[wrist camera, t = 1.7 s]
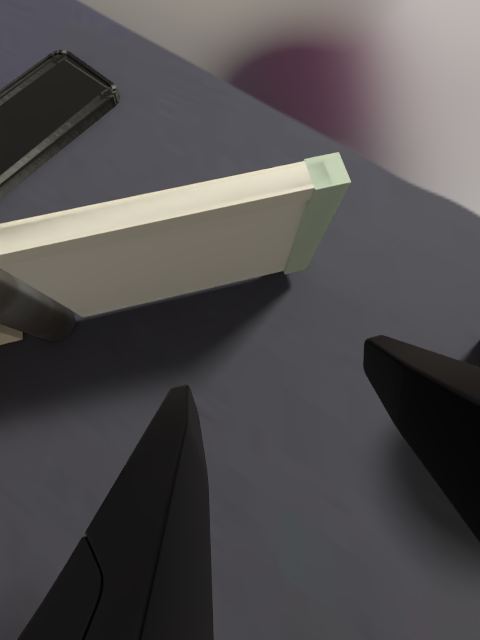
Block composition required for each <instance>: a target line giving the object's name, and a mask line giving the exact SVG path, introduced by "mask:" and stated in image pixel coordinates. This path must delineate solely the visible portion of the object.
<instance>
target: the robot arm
mask: <svg viewBox="0 0 480 640" xmlns="http://www.w3.org/2000/svg"><path fill="white" fill-rule="evenodd" d="M363 367H364V371H365V374H366V376H367V377H368V379H369V381H370V383H371V384H372V386H373V388H374V390H375V391H376V393H377V395H378V397H379V398H380V400H381V402H382V404H383V405H384V407H385V409H386V411H387V412H388V414H389V416H390V417H391V419H392V421H393V422H394V424H395V426H396V427H397V429H398V430H399V432H400V433H401V435H402V436H403V437H404V439H405V440H406V442H407V443H408V444H409V446H410V447H411V448H412V450H413V451H414V453H415V454H416V455H417V457H418V458H419V459H420V461H421V462H422V464H423V465H424V466H425V468H426V469H427V470H428V472H429V473H430V475H431V476H432V477H433V479H434V480H435V482H436V483H437V484H438V486H439V487H440V488H441V490H442V491H443V493H444V494H445V495H446V497H447V498H448V499H449V501H450V502H451V504H452V505H453V506H454V508H455V509H456V510H457V512H458V513H459V515H460V516H461V517H462V519H463V520H464V521H465V523H466V524H467V526H468V527H469V528H470V530H471V531H472V533H473V534H474V535H475V537H476V538H477V539H478V541H479V542H480V367H477V366H474V365H471V364H468V363H465V362H462V361H459V360H456V359H453V358H450V357H447V356H444V355H441V354H438V353H435V352H432V351H429V350H426V349H423V348H420V347H417V346H414V345H411V344H408V343H405V342H402V341H399V340H396V339H393V338H390V337H387V336H383V335H379V336H375V337H371V338H368V339H366V340H365V343H364V360H363ZM85 535H86V537H82V538H81V540H80V542H79V543H78V545H77V547H76V548H75V550H74V552H73V553H72V555H71V557H70V558H69V560H68V562H67V563H66V565H65V566H64V568H63V570H62V571H61V573H60V574H59V576H58V578H57V579H56V581H55V583H54V584H53V586H52V587H51V589H50V591H49V592H48V594H47V595H46V597H45V599H44V600H43V602H42V603H41V605H40V606H39V608H38V609H37V611H36V612H35V614H34V615H33V617H32V618H31V620H30V621H29V623H28V624H27V626H26V627H25V629H24V630H23V632H22V633H21V635H20V636H19V638H18V639H17V640H214V636H213V606H212V575H211V544H210V514H209V487H208V475H207V467H206V460H205V454H204V447H203V441H202V434H201V427H200V421H199V415H198V411H197V408H196V405H195V402H194V399H193V396H192V393H191V390H190V387H189V386H188V385H182V386H178V387H174V388H172V389H171V390H170V391H169V392H168V394H167V396H166V397H165V399H164V401H163V402H162V404H161V406H160V408H159V409H158V411H157V413H156V414H155V416H154V418H153V419H152V421H151V423H150V424H149V426H148V428H147V429H146V431H145V433H144V434H143V436H142V438H141V439H140V441H139V443H138V444H137V446H136V448H135V449H134V451H133V453H132V455H131V456H130V458H129V460H128V461H127V463H126V465H125V466H124V468H123V470H122V471H121V473H120V475H119V476H118V478H117V480H116V481H115V483H114V485H113V486H112V488H111V490H110V491H109V493H108V495H107V497H106V498H105V500H104V502H103V503H102V505H101V507H100V508H99V510H98V512H97V513H96V515H95V517H94V518H93V520H92V522H91V523H90V525H89V527H88V528H87V530H86V532H85Z"/></svg>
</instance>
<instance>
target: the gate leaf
mask: <svg viewBox="0 0 480 640" xmlns="http://www.w3.org/2000/svg"><path fill="white" fill-rule="evenodd" d="M350 183H351V181H350V178H349V176H348V174H347V171H346V169H345V166H344V164H343V161H342V159H341V157H340V154H339V152H337V153H332V154H328V155H323V156H318V157H313V158H308V159H304V161H303V162H298V163H294V164H289V165H284V166H279V167H274V168H269V169H264V170H260V171H255V172H250V173H245V174H240V175H235V176H230V177H226V178H221V179H216V180H211V181H206V182H201V183H196V184H192V185H187V186H182V187H177V188H172V189H167V190H162V191H158V192H153V193H148V194H143V195H138V196H133V197H128V198H124V199H119V200H114V201H109V202H104V203H99V204H94V205H90V206H85V207H80V208H75V209H70V210H65V211H60V212H56V213H51V214H46V215H41V216H36V217H31V218H26V219H22V220H17V221H12V222H7V223H2V224H0V268H1V269H2V270H4V271H6V272H7V273H9V274H11V275H12V276H14V277H16V278H18V279H19V280H21V281H23V282H24V283H26V284H28V285H29V286H31V287H33V288H35V289H36V290H38V291H40V292H41V293H43V294H45V295H46V296H48V297H50V298H52V299H53V300H55V301H57V302H58V303H60V304H62V305H63V306H65V307H67V308H69V309H70V310H72V311H74V312H75V313H77V314H79V315H80V316H82V317H87V316H91V315H96V314H100V313H104V312H109V311H113V310H117V309H122V308H126V307H130V306H134V305H139V304H143V303H147V302H152V301H156V300H160V299H165V298H169V297H173V296H177V295H182V294H186V293H190V292H195V291H199V290H203V289H208V288H212V287H216V286H221V285H225V284H229V283H233V282H238V281H242V280H246V279H251V278H255V277H259V276H264V275H268V274H272V273H276V272H281V271H284V274H285V275H286V274H290V273H294V272H299V271H303V270H307V268H308V266H309V264H310V262H311V260H312V258H313V256H314V254H315V252H316V250H317V248H318V246H319V244H320V242H321V240H322V238H323V236H324V234H325V232H326V231H327V229H328V227H329V225H330V223H331V221H332V219H333V217H334V215H335V213H336V211H337V209H338V207H339V205H340V203H341V201H342V199H343V197H344V195H345V193H346V191H347V189H348V187H349V185H350Z"/></svg>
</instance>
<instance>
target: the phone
mask: <svg viewBox="0 0 480 640" xmlns="http://www.w3.org/2000/svg"><path fill="white" fill-rule="evenodd" d="M119 100H120V96H119V94H118V91H117V88H116V86H115V84H114V83H113V82H111V81H110V80H108V79H107V78H106V77H104V76H103V75H101V74H100V73H99V72H97V71H96V70H94V69H93V68H92V67H90V66H89V65H87V64H86V63H85V62H83V61H82V60H80V59H79V58H78V57H76V56H75V55H73V54H72V53H71V52H69V51H67V50H57V51H54V52H52V53H51V54H49V55H48V56H47V57H45V58H44V59H42V60H41V61H40V62H38V63H37V64H35V65H34V66H33V67H31V68H30V69H29V70H27V71H26V72H24V73H23V74H22V75H20V76H19V77H17V78H16V79H15V80H13V81H12V82H10V83H9V84H8V85H6V86H5V87H4V88H2V89H1V90H0V199H1V198H2V197H3V196H5V195H6V194H7V193H8V192H9V191H11V190H12V189H13V188H14V187H16V186H17V185H18V184H19V183H21V182H22V181H23V180H24V179H26V178H27V177H28V176H29V175H31V174H32V173H33V172H34V171H36V170H37V169H38V168H39V167H40V166H42V165H43V164H44V163H45V162H47V161H48V160H49V159H50V158H52V157H53V156H54V155H55V154H57V153H58V152H59V151H60V150H62V149H63V148H64V147H65V146H67V145H68V144H69V143H70V142H71V141H73V140H74V139H75V138H76V137H78V136H79V135H80V134H81V133H83V132H84V131H85V130H86V129H88V128H89V127H90V126H91V125H93V124H94V123H95V122H96V121H98V120H99V119H100V118H101V117H102V116H104V115H105V114H106V113H107V112H109V111H110V110H111V109H112V108H114V107H115V106H116V105H117V104H118V102H119Z"/></svg>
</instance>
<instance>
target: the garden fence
mask: <svg viewBox="0 0 480 640" xmlns="http://www.w3.org/2000/svg"><path fill="white" fill-rule="evenodd" d="M74 325H75V317H74V314H73V313H72V311H71V310H70V309H68V308H67V307H65V306H63V305H62V304H60V303H58V302H57V301H55V300H53V299H52V298H50V297H48V296H46V295H45V294H43V293H41V292H40V291H38V290H36V289H35V288H33V287H31V286H29V285H28V284H26V283H24V282H23V281H21V280H19V279H18V278H16V277H14V276H12V275H11V274H9V273H7V272H6V271H4V270H2V269H1V268H0V345H2V344H6V343H10V342H15V341H19V340H23V333H22V332H24V333H27V334H29V335H32V336H35V337H38V338H41V339H44V340H46V341H50V342H56V341H60V340H63V339H64V338H66V337H67V336H68V335H69V334H70V333H71V332H72V330H73V328H74Z"/></svg>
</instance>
